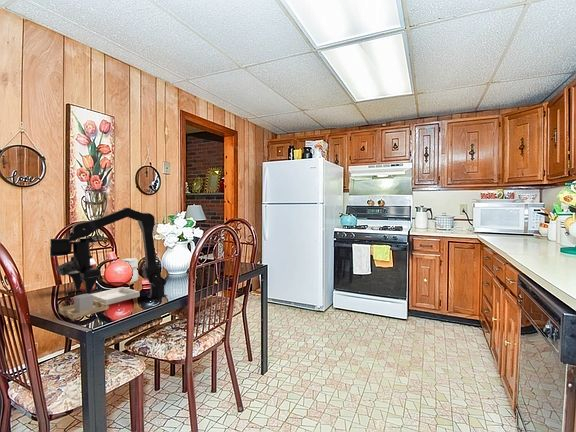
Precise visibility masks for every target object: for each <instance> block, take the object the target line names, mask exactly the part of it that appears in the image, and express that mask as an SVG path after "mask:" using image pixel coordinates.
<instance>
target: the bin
mask: <svg viewBox="0 0 576 432" xmlns="http://www.w3.org/2000/svg"><path fill="white" fill-rule="evenodd" d="M90 294H91V295H93V300H96V301H99V302H101V303H104V304H107V305H109V306H110V305H112V304H116V303H120V302H124V301H128V300H131V299H135V298H139V297H140V291H138V290H135V289H132V288H128V287H124V286H121V287H116V288H112V289H107V290H104V291H98V292H94V293H90Z"/></svg>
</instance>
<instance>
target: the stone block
mask: <svg viewBox="0 0 576 432" xmlns="http://www.w3.org/2000/svg"><path fill="white" fill-rule="evenodd" d="M91 294H92V293H89V294H87V293H83V294H78V295H74V296H73V304H74V308H75V311H76V312H78V313H79V312H83V311H87V310H91V309H94V308H93V295H91Z"/></svg>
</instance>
